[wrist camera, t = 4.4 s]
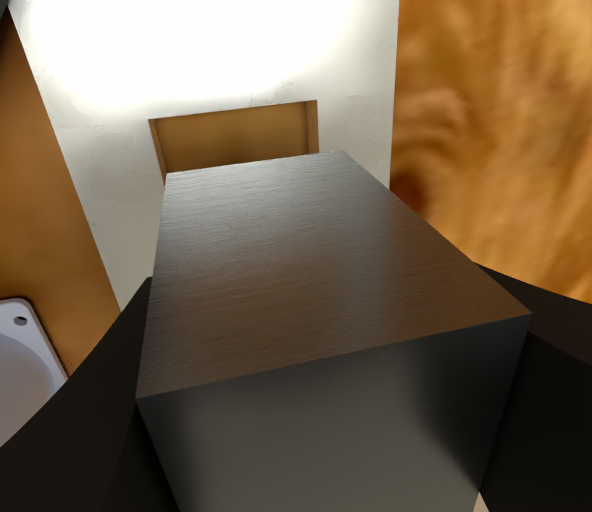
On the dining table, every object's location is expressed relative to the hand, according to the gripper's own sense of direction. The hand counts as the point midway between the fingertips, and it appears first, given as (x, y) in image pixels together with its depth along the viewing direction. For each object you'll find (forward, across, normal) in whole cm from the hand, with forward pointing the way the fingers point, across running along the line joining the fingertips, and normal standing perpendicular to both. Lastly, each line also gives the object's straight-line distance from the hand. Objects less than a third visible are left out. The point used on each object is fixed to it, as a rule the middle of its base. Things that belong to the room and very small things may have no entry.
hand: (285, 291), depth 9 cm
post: (+3, 0, 0) cm, 3 cm away
